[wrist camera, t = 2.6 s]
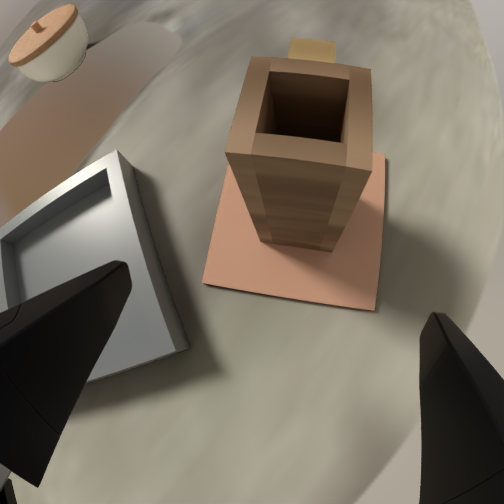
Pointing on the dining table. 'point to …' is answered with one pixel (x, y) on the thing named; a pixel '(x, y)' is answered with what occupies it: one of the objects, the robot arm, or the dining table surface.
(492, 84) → the dining table surface
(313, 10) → the dining table surface
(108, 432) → the dining table surface
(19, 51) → the lidded jar
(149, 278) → the tray
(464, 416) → the robot arm
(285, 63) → the sleeve
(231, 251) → the pink square mat
